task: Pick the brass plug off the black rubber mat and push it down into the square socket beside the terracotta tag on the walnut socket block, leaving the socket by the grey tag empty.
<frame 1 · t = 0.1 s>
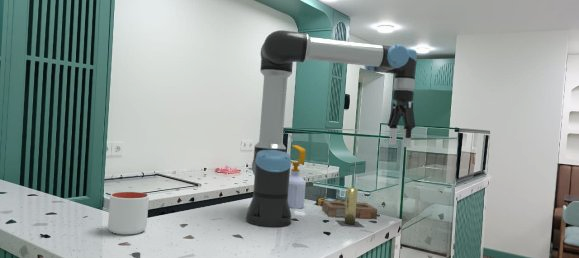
hand: (398, 145, 157), 28 cm above the table, fingers open, 13 cm apart
electronic device: (336, 208, 171), on the table
soap bottle: (292, 207, 165), on the table
mat: (349, 225, 142), on the table
cup: (127, 231, 114), on the table
plug: (349, 223, 142), resting on mat
socket block: (348, 215, 157), on the table
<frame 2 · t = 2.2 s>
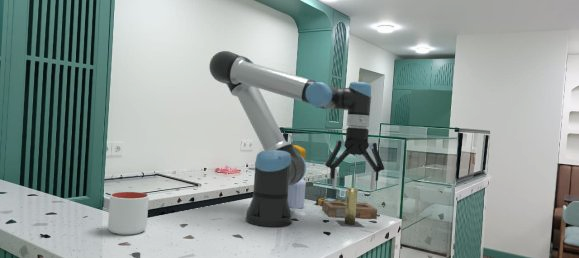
hand: (353, 189, 141), 12 cm above the table, fingers open, 13 cm apart
nothing on the table moved.
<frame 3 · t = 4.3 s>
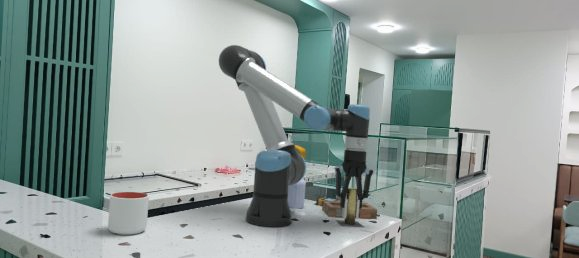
hand: (349, 217, 142), 3 cm above the table, fingers closed on plug, 3 cm apart
plug: (349, 223, 142), point 1 cm above the table, touching gripper, mat
everything else where it was.
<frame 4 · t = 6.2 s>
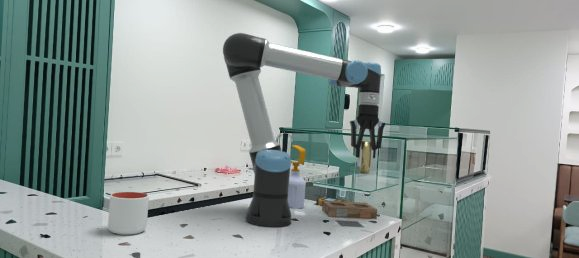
hand: (364, 166, 155), 19 cm above the table, fingers closed on plug, 3 cm apart
plug: (364, 173, 155), point 17 cm above the table, touching gripper
everything else where it was.
when the fingers open (5 cm above the table, at t = 8.6 s): plug drops 2 cm, resting in socket block.
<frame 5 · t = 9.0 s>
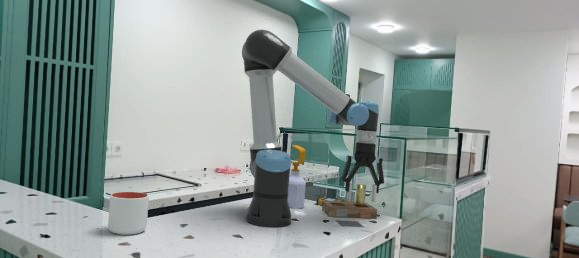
hand: (361, 200, 158), 6 cm above the table, fingers open, 9 cm apart
plug: (359, 215, 158), resting in socket block
everything else where it was.
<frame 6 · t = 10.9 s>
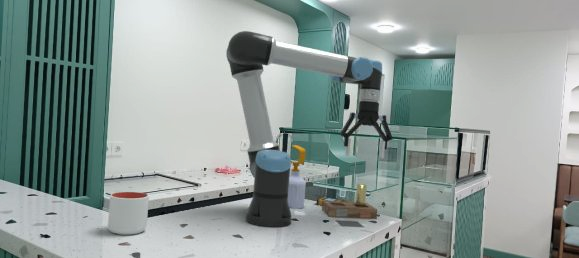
hand: (364, 156, 157), 23 cm above the table, fingers open, 13 cm apart
nothing on the table moved.
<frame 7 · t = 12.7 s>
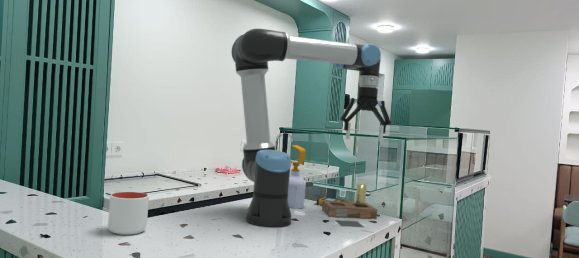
hand: (363, 140, 164), 29 cm above the table, fingers open, 13 cm apart
nothing on the table moved.
at the end: plug 0.2 cm from the target spot on the socket block, point 0.0 cm above the socket block's base; plug tilted 0°; the gripper is holding nothing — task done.
